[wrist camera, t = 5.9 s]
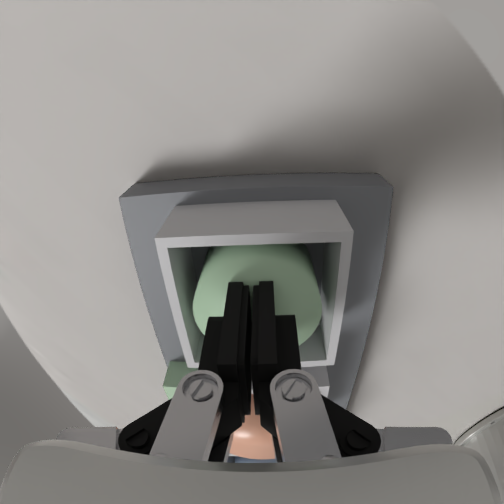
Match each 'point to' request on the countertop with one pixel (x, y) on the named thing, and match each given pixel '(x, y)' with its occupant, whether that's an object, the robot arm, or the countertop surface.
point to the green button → (261, 269)
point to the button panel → (257, 233)
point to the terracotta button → (252, 438)
